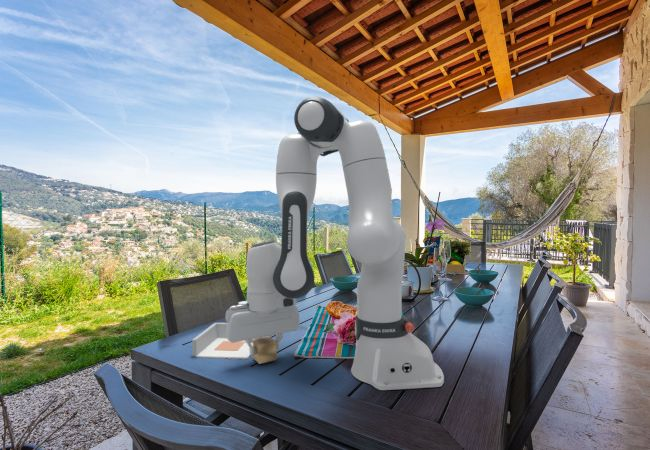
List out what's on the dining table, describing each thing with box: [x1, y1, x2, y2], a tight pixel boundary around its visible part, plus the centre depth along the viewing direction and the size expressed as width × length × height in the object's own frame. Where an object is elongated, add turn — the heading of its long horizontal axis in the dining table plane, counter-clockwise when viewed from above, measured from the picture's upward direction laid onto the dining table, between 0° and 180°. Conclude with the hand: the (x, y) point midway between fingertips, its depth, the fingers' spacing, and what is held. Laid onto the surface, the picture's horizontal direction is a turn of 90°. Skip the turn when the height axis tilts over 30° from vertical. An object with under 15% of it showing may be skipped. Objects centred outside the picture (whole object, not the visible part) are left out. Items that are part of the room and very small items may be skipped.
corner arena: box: [191, 322, 264, 360], centre depth 107 cm, size 16×16×5 cm
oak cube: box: [252, 335, 278, 365], centre depth 96 cm, size 5×5×5 cm
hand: (264, 351), depth 96 cm, fingers closed on oak cube, 5 cm apart
